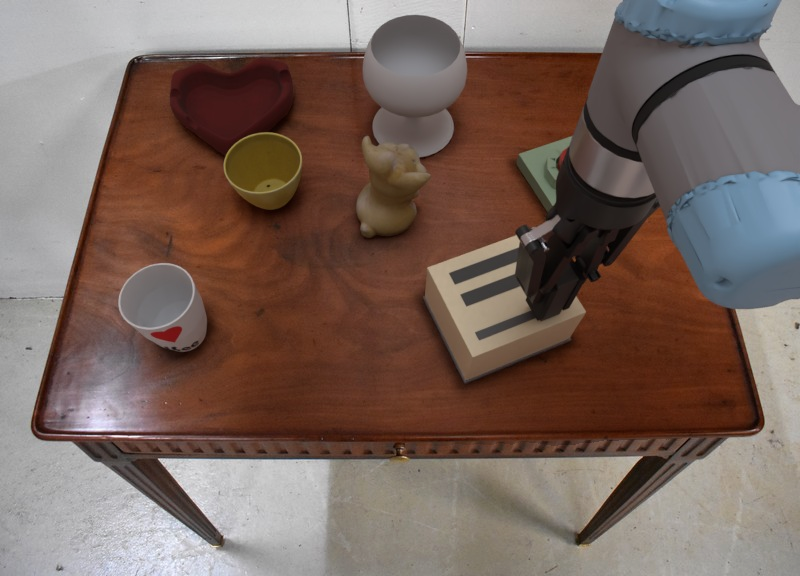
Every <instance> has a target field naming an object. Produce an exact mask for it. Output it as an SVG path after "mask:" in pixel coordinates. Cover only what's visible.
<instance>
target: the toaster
mask: <svg viewBox="0 0 800 576" xmlns="http://www.w3.org/2000/svg"><path fill="white" fill-rule="evenodd" d="M519 244H520V240H519V239H518V237H517V235H516V234H515V235H512V236H510V237H508V238H507V237H506V238H505V239H502V240H499V241H497V242H493V243H491V244H489V245H485V246H482V247H480V248H476V249H474V250H472V251H469V252H466V253H463V254H461V255H460V254H459V255H458V256H455V257H452V258H450V259H447V260H444V261H441V262H438V263H435V264H433V265H430V266H427V268H426V278H425V289H424V290H425V292H424V295H422V300H423V302H424V304H425V306H426V307H425V308H427V311H428V312H429V315H430V317H431V319H432V321H433V323H434V325H435V327H436V330H437V331H438V334H439V335H440V337H441V339H442V341H443V344H444V346H445V348H446V349H447V351H448V354H449V356H450V358H451V360H452V362H453V364H454V366H455V369H456V370H457V372H458V374H459V376H460V378H461V380H462V382H463V383H462V384H464V385H467V384H469V383H471V382H474V381H477V380H479V379H481V378H484V377H486V376H489V375H491V374H495V372H498V371H501V370H503V369H506V368H508V367H510V366H513V365H516V364H518V363H521V362H524V361H526V360H528V359H530V358H533V357H535V356H538V355H540V354H543V353H545V352H547V351H550V350H553V349H555V348H557V347H560V346H562V345H565V344H567V343H570V342H571V341H572V340H573V339H572V335H573V334H574V332H575V330H576V329H577V327H578V326H579V324H580V322H581V321H582V319H583V318H584V316H585V314H586V313H587V311H586V309H585V307H584V306H583V304H582V303H581V301H580V300H579V298H578V295H576V297H575V299H574V301H573V302H572V304H571V306H570V308H569V309H566V310H564V311H563V310H562V311H561V312H560V314H559V315H556V316H554V317H551V318H549V319H546V320H544V321H540V320H539V321H537V319H536V317H535V316H534V314H533V312H532V310H531V309H530V307H529V305H528V304H527V302H526V298H527V296H526V295H525V293H524V291H523V290H522V288H521V286H520V285H519V283H518V281H517V279H516V278H515V270H516V263H517V257H518V250H519Z"/></svg>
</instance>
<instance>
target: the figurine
mask: <svg viewBox="0 0 800 576" xmlns="http://www.w3.org/2000/svg"><path fill="white" fill-rule="evenodd" d="M361 151H362V155H363V159H364V162H365V164H366V166H367V169H368V178H369V183H367V184H366V185H365V186H364V187H363V188H362V190H361V191H360V192H359V194H358V196H357V199H356V206H355V210H356V211H355V212H356V215H357V218H358V220H359V222H360V227H359V231H360V233H361V235H362V236H363V237H364V238H367V239H372V238H374V237H375V236H381V237H393V236H397V235H399V234H403V232H405V231H407V230H408V229H410V227H411V226H412V224H413V222H414V221H415V218H416V217H417V214H418V211H417V206H416V204H415V202H414V201H413V200H415V199H416V198H418V196H419V194H420V189H422V188H423V187H424V186H425V185H426V184H427V183H428V182H429V181H430V180H431V178H432V175H431V173H429V172H427V169H426V167H425V166H424V165H423V163H421V159H420V157H419V155H418V153H417V151H416V150H415V149H414V148H413V147H412V146H410V145H408V144H400V145H396V144H394V143H390V142H385V143H381V144H379V143H378V145H374V144H373V143H372V139H371V137H370V136H369V135H366V136H364V137H363V139H362V141H361Z"/></svg>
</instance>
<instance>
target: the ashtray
mask: <svg viewBox="0 0 800 576" xmlns="http://www.w3.org/2000/svg"><path fill="white" fill-rule="evenodd" d="M294 94H295V93H294V83H293V78H292V74H291V71H290V68H289V66H288V64H287V63H286V62H285V61H282V60H278V59H272V58H269V57H263V56H260V57H257V58H255V59H254V60H252V61H251V62H249V63H248V64H246V65H245V66H244V67H241V68H240V69H238V70H236V71H232V72H226V71H225V72H224V71H220V70H218V69H217V68H214V67H212V66H209V65H207V64H206V63H204V62H196V63H194V64H191V65H189V66H187V67H184V68H181V69H178V70H176V71H174V72H173V73H172V76H171V80H170V90H169V107H170V109H171V112H172V114H173V116H174V117H175V118H176V120H177V121H178V122H179V123H180V124H181V125H182V126H184V127H185V128H186V129H188V131H189V130H190V131H191V132H192V133H193V134H195V135H196V136H198V137H199V138H200V139H201V140H202V141H203V142H205V143H206V144H208V145H209V146H210V147H212V148H213V149H214V150H216V151H217V152H219V153H220V154H221V155H223V156H224V157H226V154H227V153H228V151H229V149H230V148H231V147H232V146H233V145H234V144H235V143H237V142H238V141H239V140H241V139H243V138H244V137H247V136H249V135H252V134H256V133H265V132H267V133H268V132H269V133H270V132H271V130H273V128H275V126H276V125H277V124H278V123H279V122H281V121H282V120H283V119H284V118H285V117H286V116H287V115H288V113H289V112H290V110H291V107H292V106H293V101H294Z"/></svg>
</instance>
